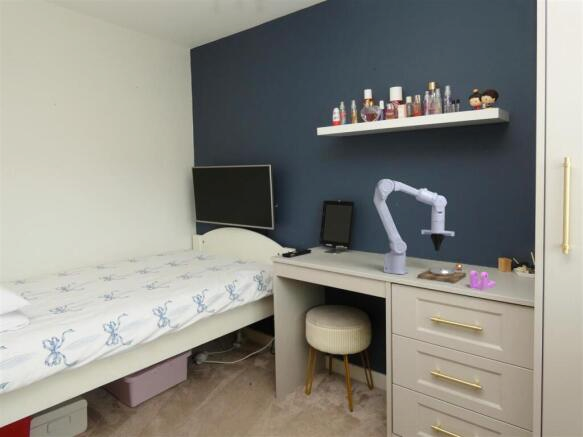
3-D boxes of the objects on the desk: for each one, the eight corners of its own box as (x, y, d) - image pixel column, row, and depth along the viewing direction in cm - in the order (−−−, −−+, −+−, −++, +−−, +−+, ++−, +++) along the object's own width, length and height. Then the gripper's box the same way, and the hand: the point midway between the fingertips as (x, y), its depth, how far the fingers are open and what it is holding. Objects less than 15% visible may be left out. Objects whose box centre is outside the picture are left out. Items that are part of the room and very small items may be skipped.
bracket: (483, 290, 167) (484, 273, 167) (469, 288, 171) (470, 271, 171) (497, 285, 176) (498, 268, 175) (484, 282, 180) (484, 266, 179)
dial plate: (417, 278, 188) (417, 274, 188) (430, 271, 201) (430, 268, 201) (455, 283, 179) (455, 279, 179) (466, 276, 192) (466, 272, 192)
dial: (431, 275, 186) (432, 266, 185) (428, 270, 196) (429, 261, 195) (464, 276, 183) (464, 267, 183) (459, 271, 193) (459, 262, 193)
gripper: (456, 221, 196) (455, 250, 197) (425, 219, 205) (424, 248, 206) (452, 222, 190) (451, 252, 192) (420, 221, 199) (419, 249, 200)
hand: (437, 250), depth 198 cm, fingers closed
